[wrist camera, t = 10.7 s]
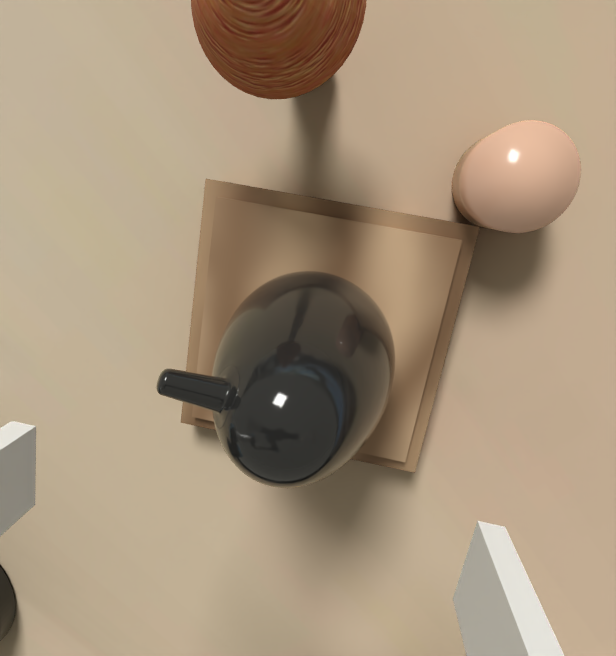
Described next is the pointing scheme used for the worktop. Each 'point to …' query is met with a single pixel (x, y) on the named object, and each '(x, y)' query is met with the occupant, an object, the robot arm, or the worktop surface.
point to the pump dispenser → (295, 378)
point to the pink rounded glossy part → (517, 177)
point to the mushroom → (277, 41)
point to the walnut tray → (346, 262)
